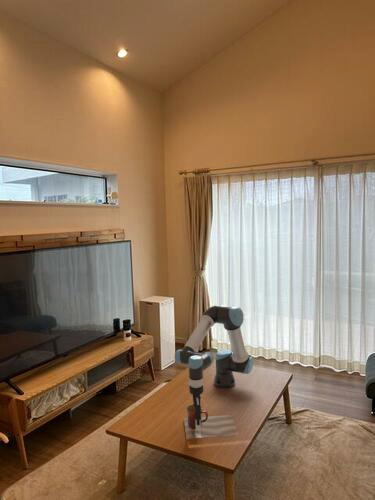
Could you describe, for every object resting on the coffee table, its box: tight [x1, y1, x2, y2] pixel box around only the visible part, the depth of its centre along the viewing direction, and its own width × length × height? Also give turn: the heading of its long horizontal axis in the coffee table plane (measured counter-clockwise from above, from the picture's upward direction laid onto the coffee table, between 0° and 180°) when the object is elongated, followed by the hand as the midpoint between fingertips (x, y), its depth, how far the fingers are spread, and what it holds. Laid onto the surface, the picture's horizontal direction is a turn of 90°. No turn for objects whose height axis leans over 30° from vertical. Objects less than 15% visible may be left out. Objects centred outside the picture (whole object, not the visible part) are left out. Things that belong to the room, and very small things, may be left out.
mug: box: [185, 404, 209, 429], centre depth 199 cm, size 12×9×10 cm
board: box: [183, 414, 239, 442], centre depth 208 cm, size 23×28×1 cm
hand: (197, 425), depth 200 cm, fingers closed on mug, 7 cm apart
